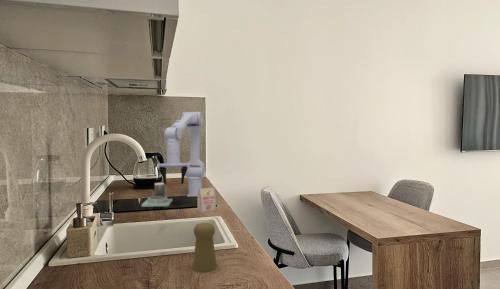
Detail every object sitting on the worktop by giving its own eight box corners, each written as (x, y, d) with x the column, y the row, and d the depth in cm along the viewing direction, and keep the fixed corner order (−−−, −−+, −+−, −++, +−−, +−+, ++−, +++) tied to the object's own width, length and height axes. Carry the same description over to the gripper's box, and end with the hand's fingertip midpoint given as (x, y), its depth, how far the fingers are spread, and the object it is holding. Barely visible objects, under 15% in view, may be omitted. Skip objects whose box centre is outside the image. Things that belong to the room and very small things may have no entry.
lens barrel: (155, 198, 175) (155, 182, 175) (165, 198, 176) (165, 182, 175) (153, 200, 170) (153, 184, 170) (164, 200, 171) (163, 184, 170)
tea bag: (197, 211, 146) (197, 188, 145) (212, 209, 149) (212, 186, 149) (200, 213, 143) (200, 189, 142) (215, 211, 146) (215, 187, 145)
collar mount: (150, 199, 166) (150, 195, 166) (168, 199, 167) (168, 195, 167) (146, 203, 158) (146, 199, 157) (165, 203, 158) (165, 198, 158)
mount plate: (147, 201, 168) (147, 199, 168) (172, 200, 169) (172, 198, 168) (141, 206, 156) (141, 204, 156) (168, 206, 157) (168, 203, 157)
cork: (190, 264, 88) (189, 222, 87) (212, 261, 90) (212, 219, 90) (196, 273, 82) (195, 228, 82) (220, 269, 85) (219, 225, 84)
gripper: (155, 154, 151) (155, 185, 151) (188, 154, 152) (189, 184, 152) (158, 153, 158) (158, 183, 158) (190, 153, 159) (190, 182, 159)
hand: (173, 183), depth 156 cm, fingers open, 7 cm apart
